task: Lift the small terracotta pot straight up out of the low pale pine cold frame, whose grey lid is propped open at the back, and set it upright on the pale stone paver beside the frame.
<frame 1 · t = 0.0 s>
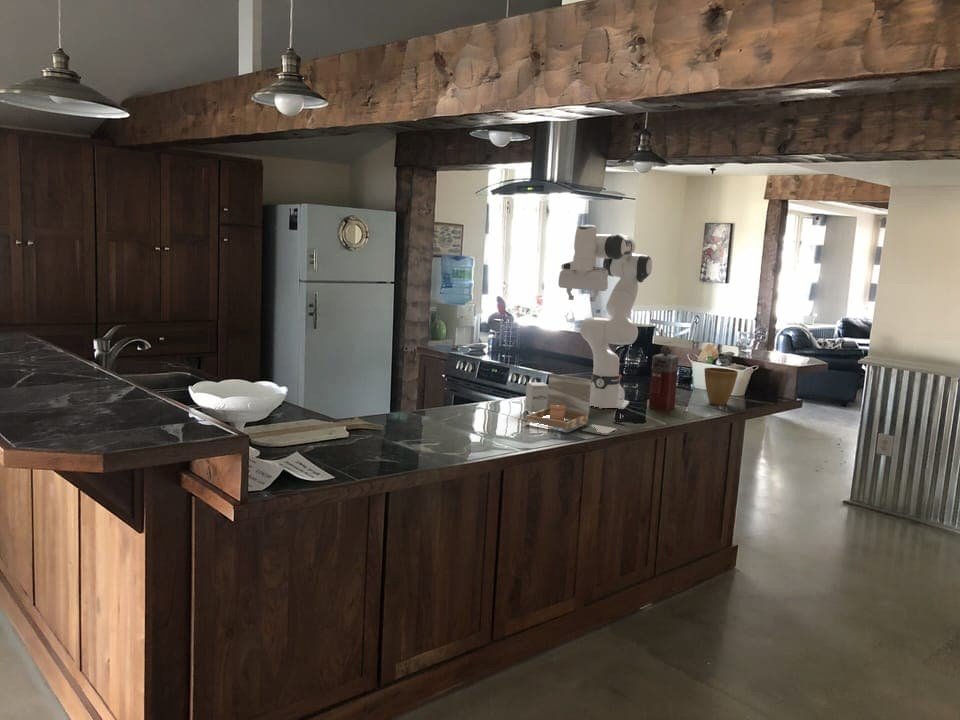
hand: (581, 300, 310), 48 cm above the counter, tool pointing down, fingers open, 8 cm apart
terracotta pot: (557, 415, 303), in the cold frame
supplement box: (535, 413, 323), on the counter
red liquid bottle: (660, 408, 346), on the counter
cold frame: (556, 425, 304), on the counter
stone paver: (599, 431, 297), on the counter
plant pot: (717, 404, 360), on the counter
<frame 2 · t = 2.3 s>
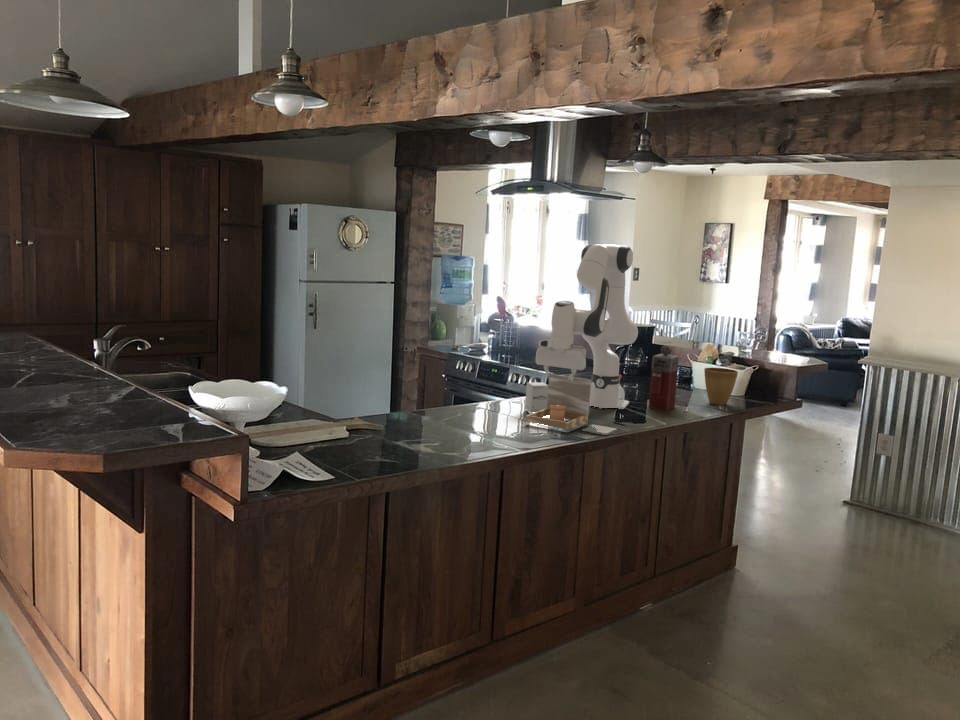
hand: (559, 378, 301), 18 cm above the counter, tool pointing down, fingers open, 8 cm apart
nothing on the counter moved.
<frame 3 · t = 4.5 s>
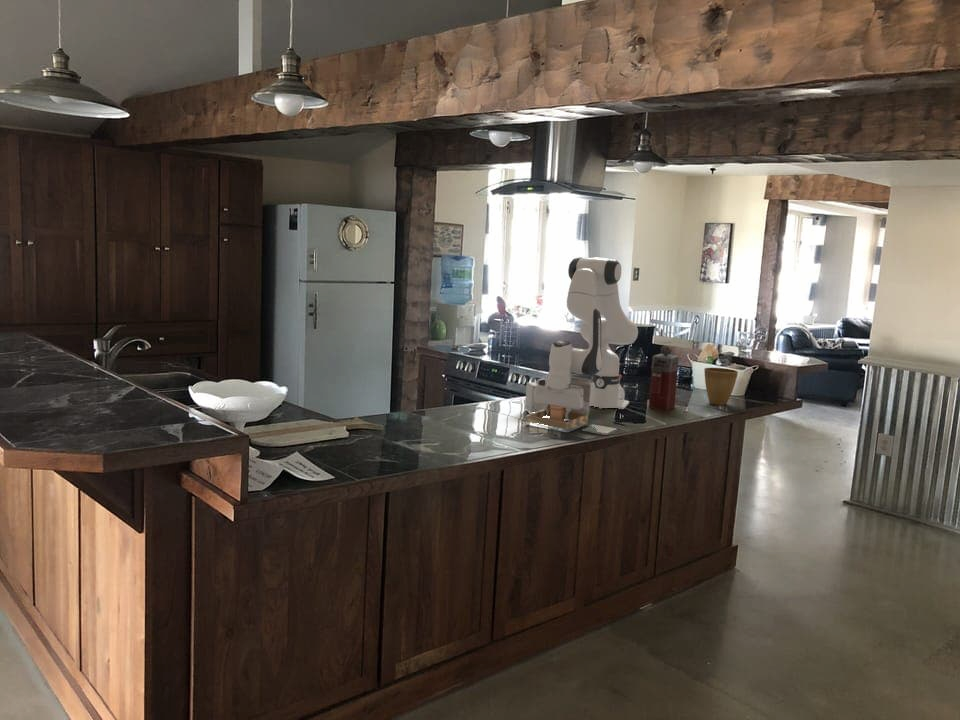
hand: (557, 417, 304), 3 cm above the counter, tool pointing down, fingers closed on terracotta pot, 6 cm apart
terracotta pot: (557, 415, 303), in the cold frame, touching gripper
everything else where it was.
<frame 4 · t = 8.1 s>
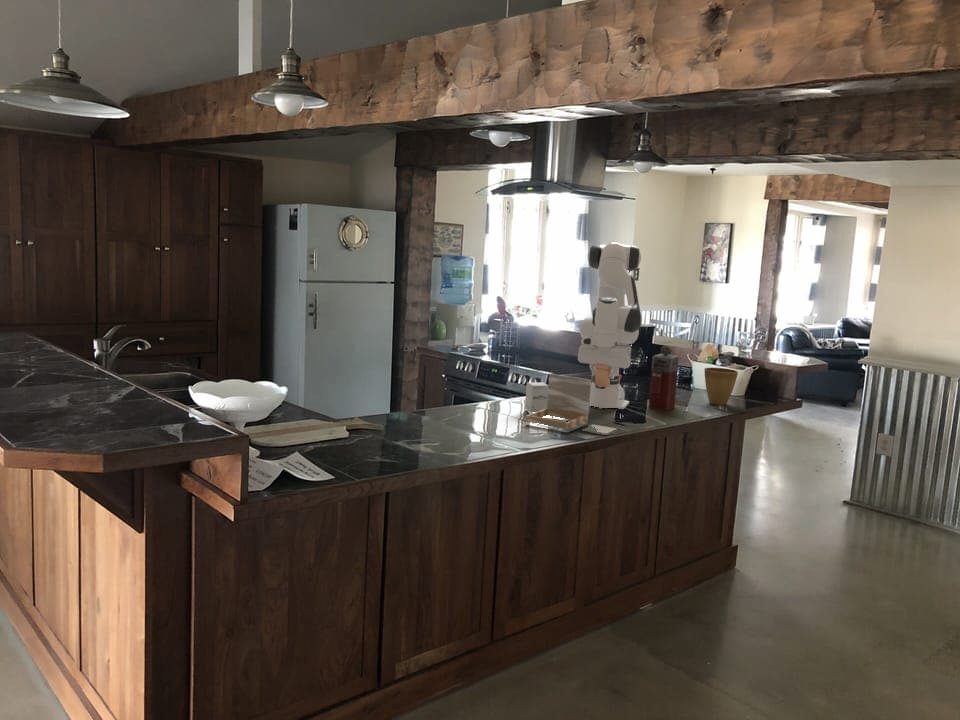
hand: (602, 377, 294), 21 cm above the counter, tool pointing down, fingers closed on terracotta pot, 6 cm apart
terracotta pot: (602, 375, 294), point 22 cm above the counter, touching gripper
everything else where it was.
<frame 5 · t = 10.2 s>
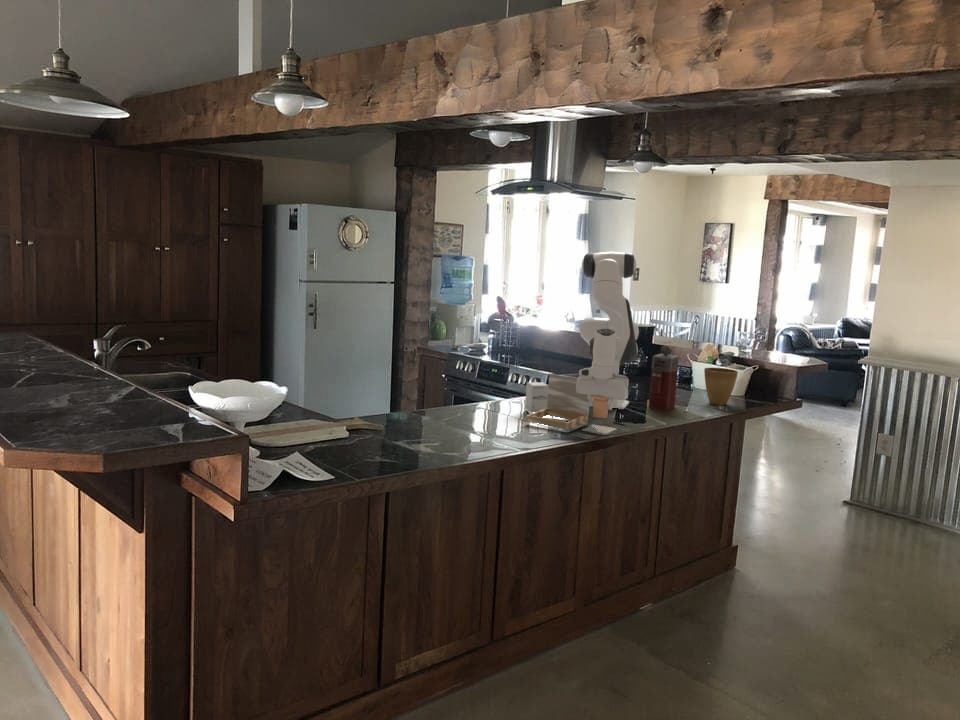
hand: (600, 408, 296), 9 cm above the counter, tool pointing down, fingers closed on terracotta pot, 6 cm apart
terracotta pot: (600, 406, 295), point 10 cm above the counter, touching gripper
everything else where it was.
when the fingers open (6 cm above the counter, at t = 11.9 s): terracotta pot drops 1 cm, resting on stone paver.
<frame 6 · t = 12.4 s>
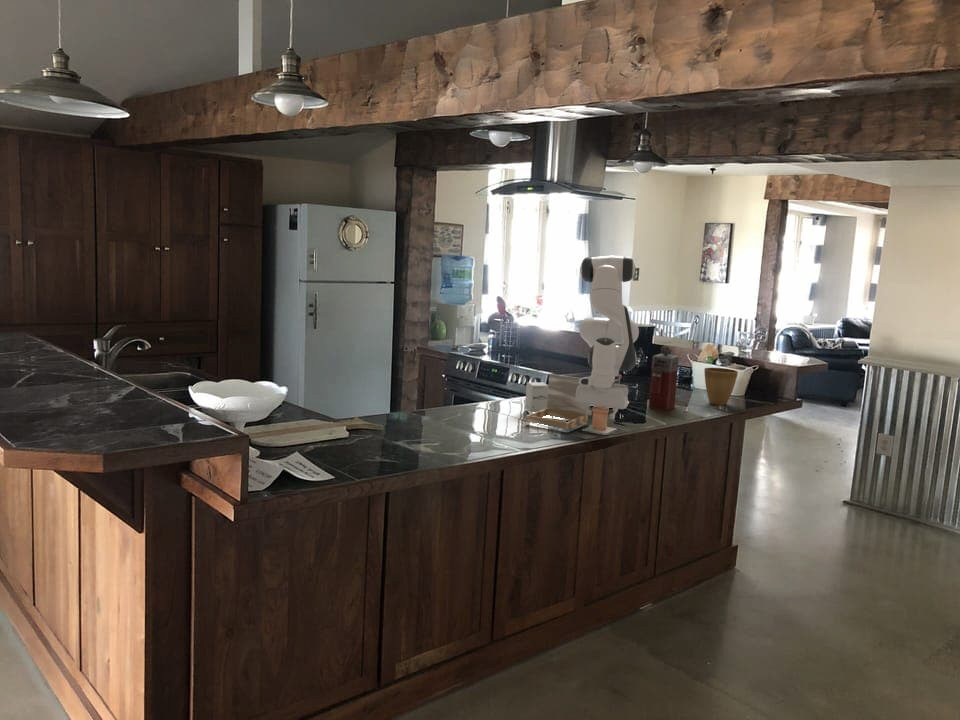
hand: (600, 417, 296), 6 cm above the counter, tool pointing down, fingers open, 8 cm apart
terracotta pot: (599, 418, 296), on the stone paver, point 5 cm above the counter
everything else where it was.
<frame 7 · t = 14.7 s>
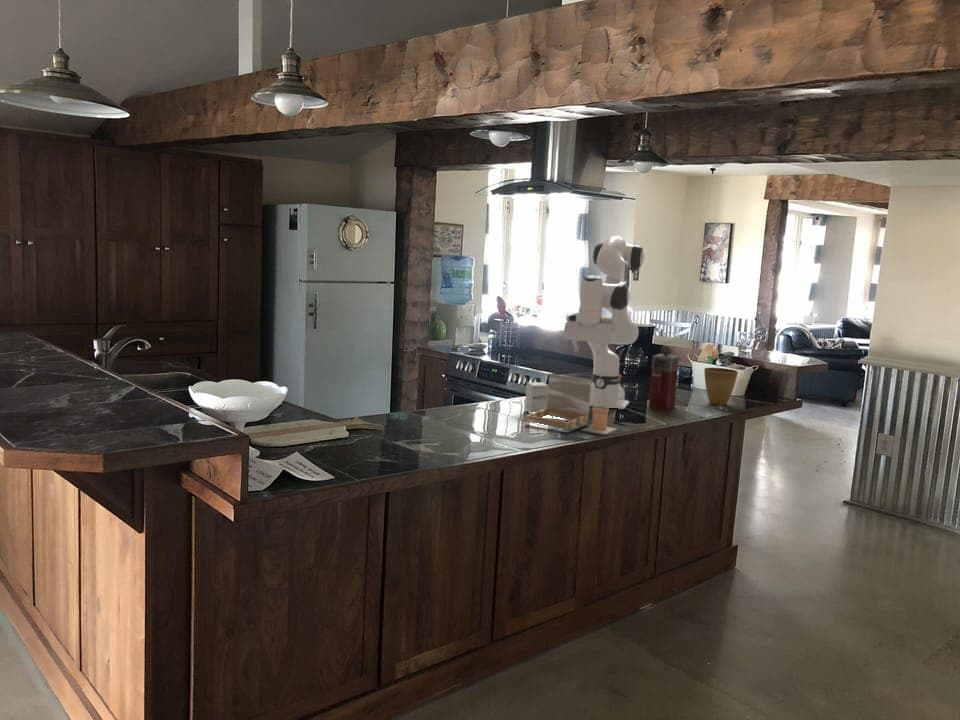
hand: (588, 353, 302), 29 cm above the counter, tool pointing down, fingers open, 8 cm apart
nothing on the counter moved.
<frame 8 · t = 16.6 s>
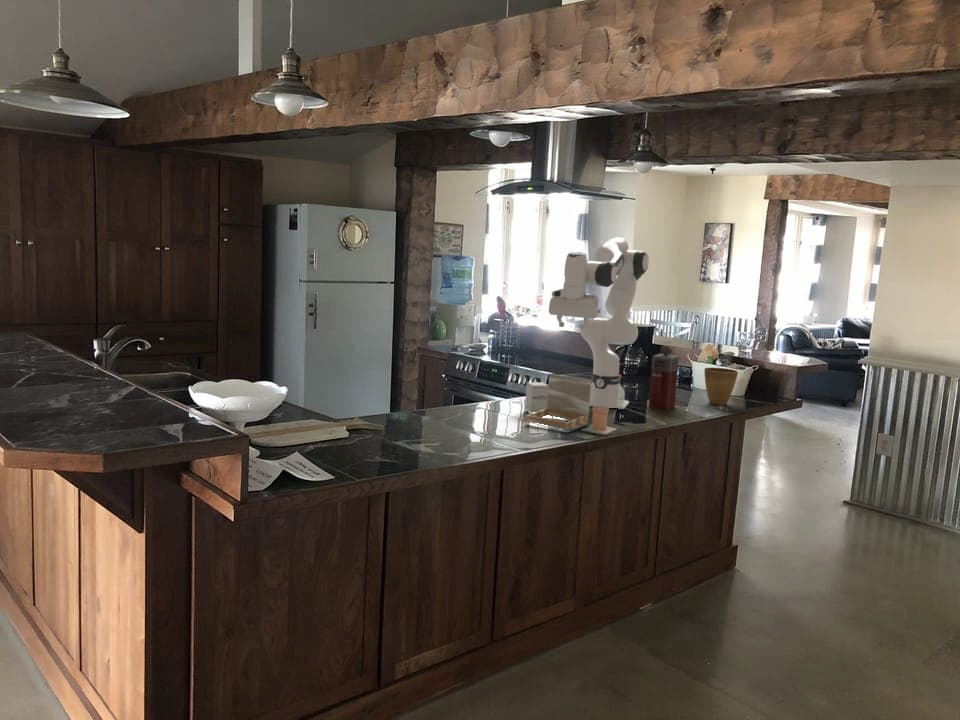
hand: (572, 328, 310), 37 cm above the counter, tool pointing down, fingers open, 8 cm apart
nothing on the counter moved.
at the end: terracotta pot 0.1 cm off-centre on the stone paver, point 5.0 cm above the stone paver's base; terracotta pot tilted 0°; the gripper is holding nothing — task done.
